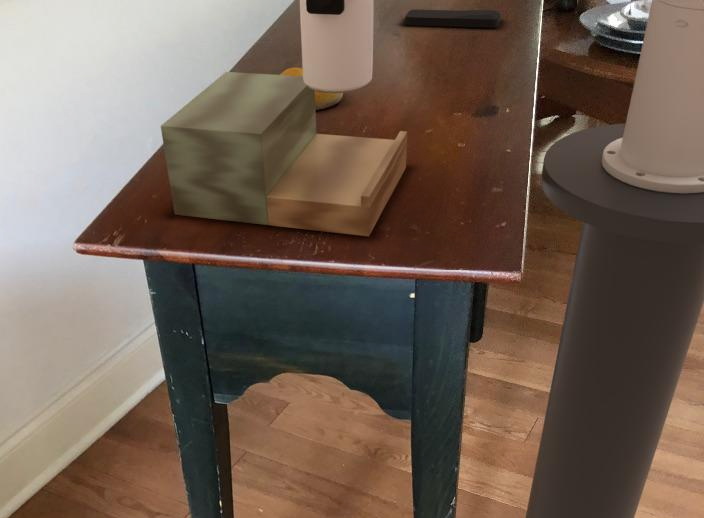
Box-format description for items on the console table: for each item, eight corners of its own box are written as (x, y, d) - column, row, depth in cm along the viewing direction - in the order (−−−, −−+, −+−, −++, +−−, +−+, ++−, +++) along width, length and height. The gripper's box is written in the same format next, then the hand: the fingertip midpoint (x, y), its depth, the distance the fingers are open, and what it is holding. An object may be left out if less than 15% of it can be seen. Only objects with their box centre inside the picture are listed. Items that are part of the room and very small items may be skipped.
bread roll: (334, 114, 99) (333, 81, 97) (266, 109, 102) (264, 77, 99) (351, 91, 105) (351, 60, 103) (287, 87, 108) (285, 56, 105)
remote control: (403, 29, 129) (497, 28, 125) (403, 17, 128) (498, 16, 124) (409, 20, 132) (501, 19, 128) (409, 9, 131) (501, 7, 127)
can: (288, 84, 74) (281, -62, 67) (338, 67, 78) (336, -74, 70) (337, 99, 71) (334, -54, 63) (387, 81, 74) (390, -67, 66)
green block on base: (406, 167, 86) (409, 82, 80) (368, 236, 74) (369, 142, 68) (234, 152, 91) (225, 71, 85) (174, 215, 79) (160, 125, 74)
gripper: (351, -265, 51) (352, 31, 63) (409, -266, 64) (401, -19, 75) (243, -259, 53) (263, 28, 65) (319, -261, 66) (325, -21, 77)
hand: (337, 0), depth 70 cm, fingers closed on can, 6 cm apart
